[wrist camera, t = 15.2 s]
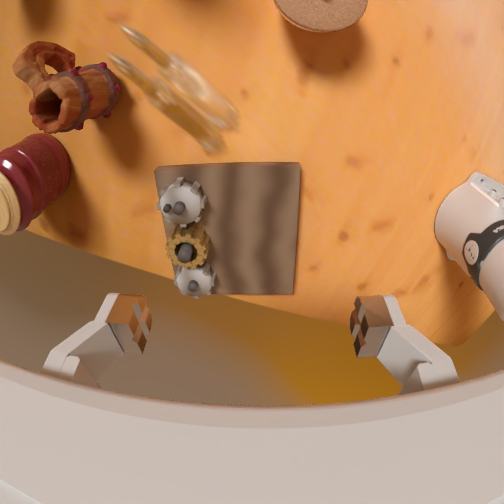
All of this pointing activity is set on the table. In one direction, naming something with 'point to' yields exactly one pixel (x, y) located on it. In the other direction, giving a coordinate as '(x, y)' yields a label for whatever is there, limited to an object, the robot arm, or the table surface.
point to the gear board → (234, 224)
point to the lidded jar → (321, 13)
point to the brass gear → (193, 237)
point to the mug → (64, 88)
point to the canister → (30, 180)
